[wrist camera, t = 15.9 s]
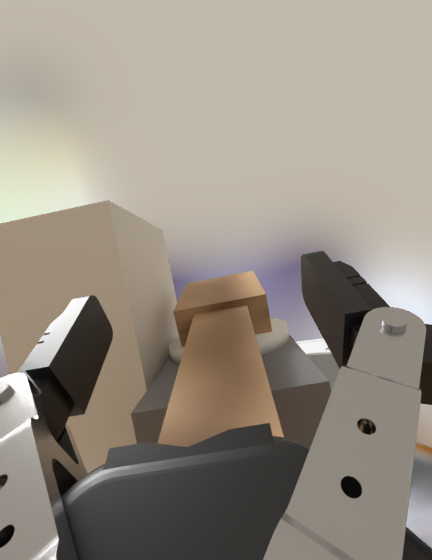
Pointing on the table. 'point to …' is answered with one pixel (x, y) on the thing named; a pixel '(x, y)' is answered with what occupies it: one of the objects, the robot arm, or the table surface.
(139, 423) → the gray box
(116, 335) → the tall plinth
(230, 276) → the oak block
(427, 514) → the table surface
